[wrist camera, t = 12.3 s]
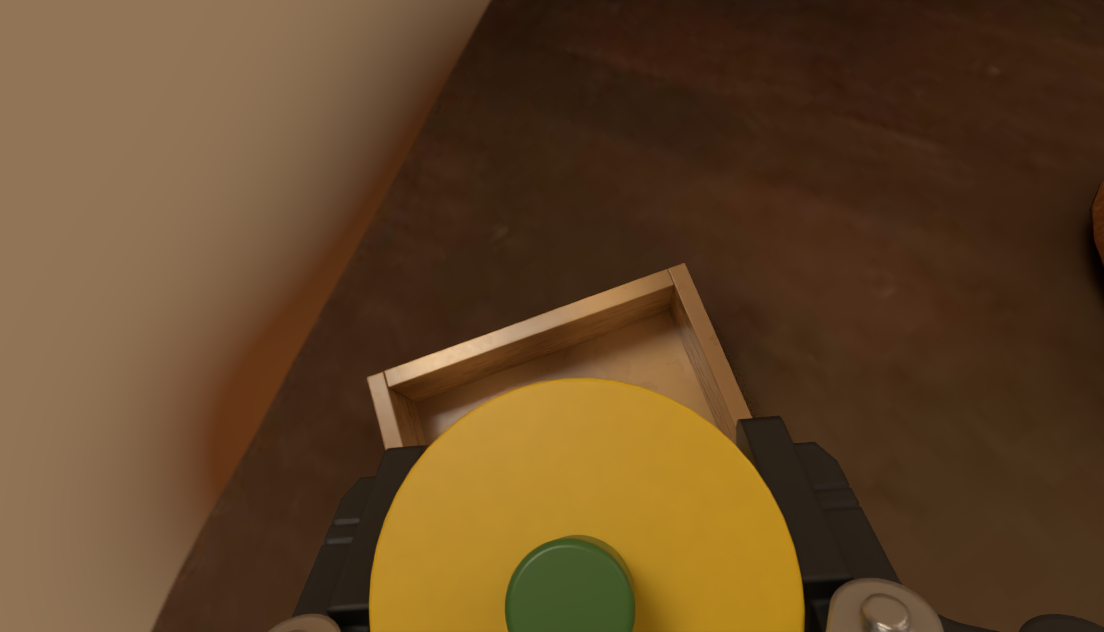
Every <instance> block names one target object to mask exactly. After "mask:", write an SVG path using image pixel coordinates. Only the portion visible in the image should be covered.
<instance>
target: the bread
mask: <svg viewBox="0 0 1104 632" xmlns="http://www.w3.org/2000/svg"><path fill="white" fill-rule="evenodd" d="M1090 216H1091V223H1092V229H1093V235H1094V241H1095V245H1096V247H1097V250H1098V253H1099V256H1100V258H1101V261H1102V264H1103V267H1104V179H1103V180H1102V181H1101V184H1100V186H1099V188H1098V191H1097V193H1096V195H1095V198H1094V200H1093V203H1092V205H1091V207H1090Z"/></svg>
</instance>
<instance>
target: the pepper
mask: <svg viewBox="0 0 1104 632" xmlns="http://www.w3.org/2000/svg"><path fill="white" fill-rule="evenodd" d="M369 619H370V632H804V629H805V604H804V595H803V585H802V576H801V572H800V568H799V563H798V559H797V555H796V550H795V546H794V543H793V541H792V538H791V535H790V532H789V530H788V527H787V524H786V521H785V519H784V516H783V514H782V512H781V511H780V509H779V507H778V505H777V503H776V501H775V499H774V497H773V495H772V493H771V491H770V489H769V488H768V486H767V485H766V483H765V482H764V480H763V479H762V477H761V476H760V474H759V473H758V471H757V470H756V468H755V467H754V466H753V464H752V463H751V462H750V461H749V460H748V459H747V457H746V456H745V455H744V454H743V453H742V452H741V451H740V449H739V448H738V447H737V446H736V445H735V444H734V443H733V442H732V441H731V440H730V439H729V438H728V437H727V436H725V435H724V434H723V433H722V432H721V431H720V430H719V429H718V428H717V427H716V426H714V425H713V424H712V423H710V422H709V421H708V420H706V419H705V418H703V417H702V416H700V415H699V414H698V413H696V412H695V411H693V410H692V409H690V408H688V407H687V406H685V405H683V404H681V403H679V402H677V401H675V400H673V399H671V398H669V397H668V396H665V395H663V394H660V393H657V392H655V391H652V390H649V389H647V388H644V387H641V386H637V385H633V384H629V383H625V382H620V381H616V380H607V379H598V378H562V379H556V380H549V381H543V382H537V383H534V384H530V385H527V386H523V387H520V388H516V389H513V390H511V391H508V392H506V393H504V394H501V395H499V396H497V397H495V398H492V399H490V400H488V401H486V402H485V403H483V404H481V405H480V406H478V407H476V408H475V409H473V410H471V411H470V412H468V413H466V414H465V415H464V416H463V417H461V418H460V419H459V420H458V421H456V422H455V423H454V424H452V425H451V426H450V427H449V428H447V429H446V430H445V431H444V432H443V433H442V434H441V435H440V436H439V437H438V438H437V439H436V440H435V441H434V442H433V443H432V444H431V445H430V446H429V447H428V448H427V449H426V451H425V452H424V453H423V454H422V456H421V457H420V458H419V460H418V461H417V462H416V463H415V465H414V466H413V467H412V469H411V470H410V471H409V473H408V475H407V476H406V478H405V480H404V481H403V483H402V485H401V486H400V488H399V490H398V491H397V493H396V495H395V497H394V500H393V502H392V504H391V506H390V509H389V511H388V513H387V515H386V518H385V520H384V523H383V526H382V530H381V533H380V536H379V539H378V542H377V546H376V550H375V556H374V561H373V566H372V572H371V580H370V595H369Z"/></svg>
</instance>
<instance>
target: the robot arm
mask: <svg viewBox="0 0 1104 632" xmlns="http://www.w3.org/2000/svg"><path fill="white" fill-rule="evenodd" d="M736 446H737V447H738V448H739V449H740V451H741V452H742V453H743V454H744V455H745V456H746V457H747V459H748V460H749V461H750V462H751V463H752V464H753V466H754V467H755V468H756V470H757V471H758V473H759V474H760V476H761V477H762V479H763V480H764V482H765V483H766V485H767V486H768V488H769V489H770V491H771V493H772V495H773V497H774V499H775V501H776V503H777V505H778V507H779V509H780V511H781V512H782V514H783V516H784V519H785V521H786V524H787V527H788V530H789V532H790V535H791V538H792V541H793V543H794V546H795V550H796V555H797V559H798V563H799V568H800V572H801V576H802V585H803V595H804V604H805V629H804V632H998V631H994V630H989V629H984V628H979V627H975V626H970V625H966V624H962V623H958V622H955V621H953V620H950V619H947V618H945V617H943V616H941V615H939V614H937V613H936V612H935V611H934V609H933V608H932V607H931V606H930V604H929V603H928V602H926V601H925V600H924V599H923V598H922V597H921V596H919V595H918V594H917V593H915V592H914V591H912V590H910V589H909V588H907V587H905V586H903V585H902V584H901V582H900V580H899V579H898V577H897V575H896V573H895V571H894V569H893V568H892V566H891V564H890V562H889V560H888V558H887V556H886V554H885V552H884V550H883V548H882V546H881V544H880V543H879V541H878V539H877V537H876V535H875V533H874V531H873V529H872V527H871V525H870V523H869V521H868V519H867V517H866V516H865V514H864V512H863V510H862V508H861V507H859V502H858V500H857V498H856V496H855V494H854V492H853V491H852V489H851V488H849V483H848V481H847V479H846V477H845V475H844V473H843V471H842V469H841V467H840V466H839V464H838V462H837V460H836V459H834V458H833V457H832V456H831V455H830V454H828V453H827V452H826V451H825V450H824V449H822V448H821V447H820V446H819V445H818V444H816V443H815V442H808V443H795V444H793V442H792V440H791V437H790V435H789V433H788V431H787V428H786V426H785V424H784V422H783V420H782V418H781V417H780V416H771V417H759V418H747V419H738V420H737V424H736ZM428 447H429V446H428V445H418V446H406V447H394V448H388V449H387V450H386V451H385V453H384V456H383V458H382V461H381V464H380V466H379V469H378V472H377V474H376V477H365V478H360V479H359V480H358V481H357V483H356V484H355V485H354V486H353V487H352V488H351V489H350V490H349V491H348V492H347V493H346V494H345V496H344V497H343V498H342V499H341V501H340V504H339V506H338V508H337V511H336V513H335V516H334V518H333V520H332V526H330V528H329V530H328V532H327V535H326V537H325V539H324V545H322V547H321V549H320V551H319V554H318V556H317V558H316V561H315V563H314V566H313V568H312V570H311V573H310V575H309V577H308V580H307V582H306V585H305V587H304V589H303V592H302V594H301V597H300V599H299V601H298V604H297V606H296V608H295V611H294V613H293V615H292V617H291V618H290V619H288V620H286V621H283V622H282V623H280V624H278V625H277V626H275V627H274V628H272V629H271V630H270V631H268V632H370V619H369V595H370V580H371V572H372V566H373V561H374V556H375V550H376V546H377V542H378V539H379V536H380V533H381V530H382V526H383V523H384V520H385V518H386V515H387V513H388V511H389V509H390V506H391V504H392V502H393V500H394V497H395V495H396V493H397V491H398V490H399V488H400V486H401V485H402V483H403V481H404V480H405V478H406V476H407V475H408V473H409V471H410V470H411V469H412V467H413V466H414V465H415V463H416V462H417V461H418V460H419V458H420V457H421V456H422V454H423V453H424V452H425V451H426V449H427V448H428ZM1019 632H1104V627H1102V626H1099V625H1097V624H1095V623H1093V622H1090V621H1087V620H1084V619H1081V618H1077V617H1073V616H1068V615H1061V614H1048V615H1040V616H1037V617H1034V618H1032V619H1030V620H1029V621H1027V622H1026V623H1025V624H1024V625H1023V626H1022V627H1021V628H1020V631H1019Z"/></svg>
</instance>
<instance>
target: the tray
mask: <svg viewBox="0 0 1104 632" xmlns="http://www.w3.org/2000/svg"><path fill="white" fill-rule="evenodd" d="M562 378H598V379H607V380H616V381H620V382H625V383H629V384H633V385H637V386H641V387H644V388H647V389H649V390H652V391H655V392H657V393H660V394H663V395H665V396H668V397H669V398H671V399H673V400H675V401H677V402H679V403H681V404H683V405H685V406H687V407H688V408H690V409H692V410H693V411H695V412H696V413H698V414H699V415H700V416H702V417H703V418H705V419H706V420H708V421H709V422H710V423H712V424H713V425H714V426H716V427H717V428H718V429H719V430H720V431H721V432H722V433H723V434H724V435H725V436H727V437H728V438H729V439H730V440H731V441H732V442H733V443H734V444H735V445H736V424H737V420H738V419H747V418H752V416H751V414H750V411H749V409H748V407H747V405H746V402H745V400H744V398H743V395H742V393H741V391H740V388H739V386H738V384H737V382H736V379H735V377H734V375H733V372H732V370H731V368H730V366H729V363H728V361H727V359H726V356H725V354H724V352H723V349H722V347H721V345H720V343H719V340H718V338H717V336H716V333H715V331H714V329H713V326H712V324H711V322H710V320H709V317H708V315H707V313H706V310H705V308H704V306H703V304H702V301H701V299H700V297H699V294H698V292H697V290H696V287H695V285H694V283H693V281H692V278H691V276H690V274H689V271H688V269H687V267H686V264H685V263H682V264H680V265H677V266H674V267H671V268H669V269H668V270H667V269H666V270H663V271H660V272H657V273H654V274H652V275H649V276H646V277H643V278H641V279H638V280H635V281H632V282H629V283H627V284H624V285H621V286H618V287H616V288H613V289H610V290H607V291H605V292H602V293H599V294H596V295H593V296H591V297H588V298H585V299H582V300H580V301H577V302H574V303H571V304H568V305H566V306H563V307H560V308H557V309H555V310H552V311H549V312H546V313H543V314H541V315H538V316H535V317H532V318H530V319H527V320H524V321H521V322H519V323H516V324H513V325H510V326H507V327H505V328H502V329H499V330H496V331H494V332H491V333H488V334H485V335H482V336H480V337H477V338H474V339H471V340H469V341H466V342H463V343H460V344H458V345H455V346H452V347H449V348H446V349H444V350H441V351H438V352H435V353H433V354H430V355H427V356H424V357H421V358H419V359H416V360H413V361H410V362H408V363H405V364H402V365H399V366H397V367H394V368H391V369H388V370H385V371H384V372H380V373H377V374H375V375H372V376H369V377H367V381H368V385H369V389H370V393H371V397H372V400H373V404H374V408H375V412H376V416H377V420H378V424H379V428H380V431H381V435H382V439H383V443H384V447H385V451H386V450H387V449H388V448H394V447H406V446H418V445H428V446H430V445H431V444H432V443H433V442H434V441H435V440H436V439H437V438H438V437H439V436H440V435H441V434H442V433H443V432H444V431H445V430H446V429H447V428H449V427H450V426H451V425H452V424H454V423H455V422H456V421H458V420H459V419H460V418H461V417H463V416H464V415H465V414H466V413H468V412H470V411H471V410H473V409H475V408H476V407H478V406H480V405H481V404H483V403H485V402H486V401H488V400H490V399H492V398H495V397H497V396H499V395H501V394H504V393H506V392H508V391H511V390H513V389H516V388H520V387H523V386H527V385H530V384H534V383H537V382H543V381H549V380H556V379H562Z"/></svg>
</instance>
